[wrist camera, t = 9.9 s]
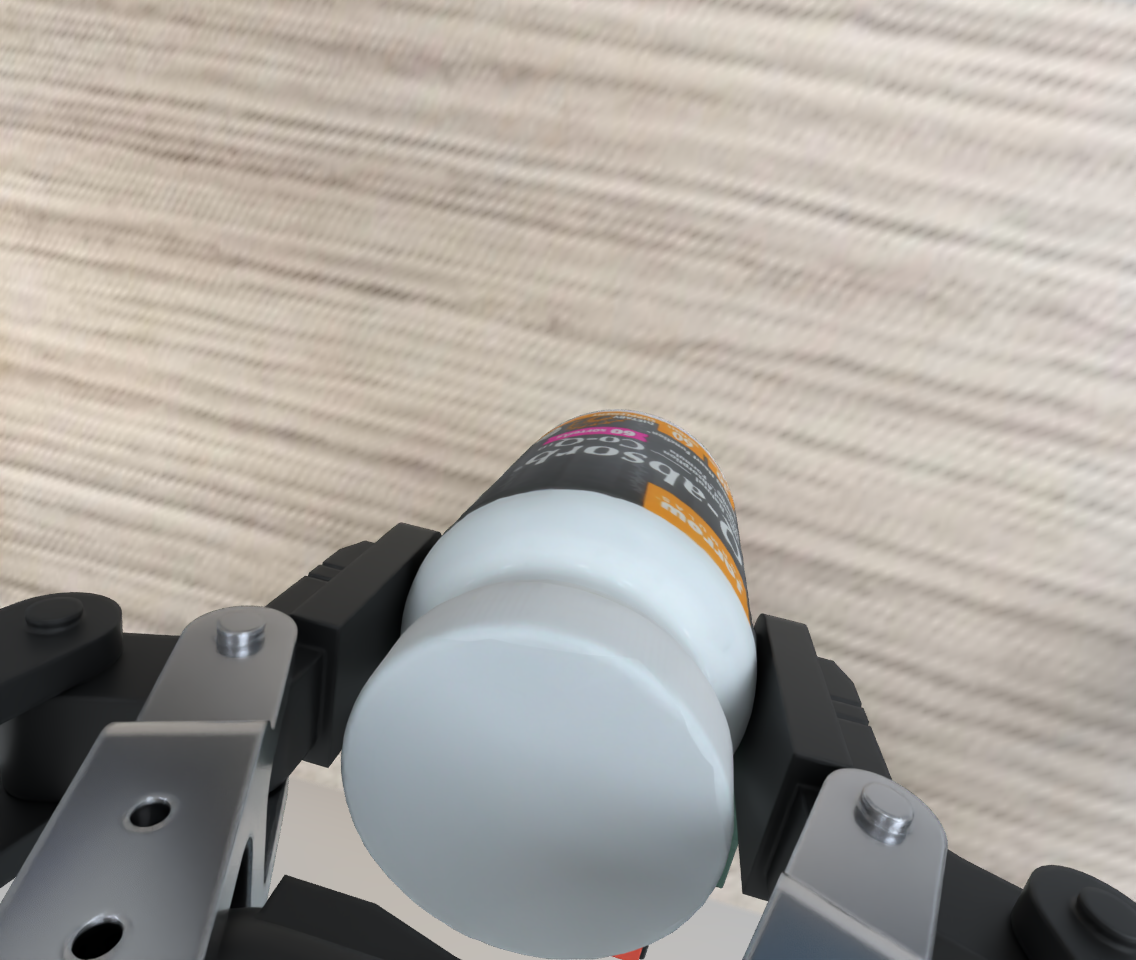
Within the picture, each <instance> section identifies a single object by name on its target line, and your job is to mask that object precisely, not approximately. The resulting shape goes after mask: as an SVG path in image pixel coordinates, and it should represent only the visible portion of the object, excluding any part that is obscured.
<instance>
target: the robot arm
mask: <svg viewBox="0 0 1136 960" xmlns="http://www.w3.org/2000/svg"><path fill="white" fill-rule="evenodd" d="M441 536H442V535H441V533H440V532H438V531H434V530H430V529H426V528H422V527H418V526H414V525H410V524H406V523H398V524H397V525H396V526H395V527H393V528H392V529H391V530H390V531H389V532H387V533H386V534H385V535H384V536H383V537H381V538H380V539H379V540H378V541H377V542H375V543H372V542H369V541H363V542H360V543H357V544H354V545H351V546H348V547H345V548H342V549H339V550H338V551H337V552H335V553H334V554H333V555H331V556H330V557H329V558H328V559H326V560H325V561H324V562H323V564H322V565H318V566H317V567H316V568H315V569H313V570H312V571H311V572H309V574H308V576H304V577H303V578H301V579H300V580H299V581H298V582H296V583H295V584H294V585H292V586H291V587H290V588H288V589H287V590H286V591H285V592H283V593H282V594H281V595H279V596H278V597H277V598H275V599H274V600H273V601H271V602H270V603H269V604H268V605H266V606H265V607H262V606H234V607H228V608H222V609H219V610H215V611H212V612H209V613H206V614H204V615H202V616H200V617H198V618H197V619H195V620H194V621H192V622H191V623H190V624H189V625H187V626H186V628H185V629H184V630H183V632H182V634H181V636H171V635H154V634H137V633H123V629H122V610H121V608H120V606H119V605H118V604H117V603H116V602H115V601H114V600H112V599H110V598H108V597H105V596H102V595H97V594H92V593H81V592H69V593H56V594H48V595H43V596H38V597H34V598H30V599H26V600H23V601H20V602H17V603H15V604H12V605H9V606H7V607H4V608H1V609H0V888H1V887H3V886H4V885H5V884H7V883H8V882H10V881H11V880H12V879H14V878H15V877H16V878H15V879H14V881H13V883H12V885H11V886H10V888H9V890H8V892H7V893H6V895H5V897H4V898H3V900H2V902H1V903H0V960H460V959H459V958H457V957H455V956H454V955H452V954H451V953H449V952H448V951H446V950H444V949H443V948H441V947H440V946H438V945H437V944H435V943H434V942H432V941H431V940H429V939H428V938H426V937H425V936H423V935H422V934H420V933H419V932H417V931H416V930H414V929H413V928H411V927H410V926H408V925H407V924H405V923H404V922H402V921H401V920H399V919H398V918H396V917H395V916H393V915H392V914H390V913H389V912H387V911H386V910H384V909H383V908H381V907H380V906H378V905H377V904H375V903H372V902H368V901H365V900H362V899H359V898H356V897H353V896H350V895H347V894H344V893H341V892H337V891H334V890H331V889H328V888H325V887H322V886H319V885H316V884H313V883H309V882H306V881H303V880H300V879H296V878H294V877H291V876H288V875H284V877H283V878H282V880H281V881H280V883H279V884H278V885H277V887H276V888H275V890H274V891H273V893H272V894H271V896H270V897H269V899H268V900H267V898H268V892H269V887H270V882H271V877H272V872H273V867H274V862H275V857H276V851H277V846H278V841H279V836H280V831H281V826H282V821H283V815H284V810H285V805H286V800H287V795H288V782H289V775H290V774H291V773H292V771H293V770H294V769H295V768H296V767H297V765H298V764H299V763H300V762H301V760H303V761H306V762H310V763H313V764H317V765H320V766H323V767H327V768H329V766H330V765H331V764H332V762H333V761H334V760H335V758H336V757H337V755H338V754H339V753H340V751H341V750H342V746H343V737H344V732H345V728H346V725H347V722H348V719H349V716H350V713H351V711H352V708H353V706H354V703H355V701H356V699H357V697H358V696H359V694H360V692H361V690H362V688H363V687H364V685H365V684H366V682H367V681H368V679H369V678H370V676H371V675H372V674H373V672H374V671H375V670H376V668H377V667H378V666H379V665H380V663H381V662H382V661H383V659H384V658H385V657H386V655H387V654H388V653H389V651H390V650H391V648H392V647H393V646H394V644H395V643H396V642H397V640H398V639H399V638H400V633H401V624H402V616H403V611H404V607H405V603H406V600H407V596H408V593H409V591H410V588H411V585H412V583H413V581H414V578H415V576H416V574H417V572H418V570H419V568H420V566H421V564H422V562H423V561H424V559H425V558H426V556H427V554H428V553H429V551H430V550H431V548H432V547H433V546H434V545H435V544H436V542H437V541H438V540H439V539H440V537H441ZM754 630H755V634H756V649H757V682H756V692H755V698H754V704H753V709H752V714H751V717H750V719H749V722H748V725H747V728H746V731H745V734H744V736H743V738H742V740H741V742H740V744H739V747H738V748H737V750H736V752H735V753H734V755H733V772H734V795H735V807H736V819H737V832H738V844H739V856H740V868H741V881H742V893H743V894H745V895H749V896H752V897H755V898H759V899H762V900H765V901H768V903H767V906H766V908H765V910H764V912H763V915H762V917H761V919H760V921H759V924H758V926H757V929H756V930H755V933H754V935H753V937H752V939H751V942H750V944H749V946H748V948H747V950H746V953H745V955H744V957H743V959H742V960H1136V903H1135V902H1134V901H1132V900H1131V899H1130V898H1128V897H1127V896H1125V895H1124V894H1123V893H1121V892H1119V891H1118V890H1116V889H1115V888H1113V887H1111V886H1110V885H1108V884H1106V883H1104V882H1102V881H1100V880H1099V879H1097V878H1095V877H1092V876H1090V875H1088V874H1086V873H1083V872H1081V871H1078V870H1075V869H1072V868H1068V867H1063V866H1057V865H1046V866H1041V867H1039V868H1036V869H1035V870H1034V871H1033V872H1032V874H1031V876H1030V878H1029V879H1028V881H1027V883H1026V885H1025V887H1024V888H1023V889H1021V888H1019V887H1018V886H1016V885H1014V884H1012V883H1010V882H1008V881H1006V880H1004V879H1002V878H1000V877H998V876H996V875H994V874H992V873H990V872H988V871H986V870H984V869H982V868H980V867H978V866H976V865H974V864H972V863H970V862H968V861H967V860H965V859H963V858H961V857H959V856H958V855H956V854H954V853H953V852H951V851H950V850H948V849H947V848H948V840H947V837H946V833H945V831H944V829H943V826H942V824H941V823H940V821H939V820H938V818H937V817H936V816H935V814H934V813H933V812H932V811H931V810H930V808H929V807H928V806H927V805H925V804H924V803H923V802H922V801H921V800H920V799H919V798H918V797H916V796H915V795H914V794H913V793H911V792H910V791H909V790H907V789H906V788H904V787H903V786H901V785H899V784H898V783H896V782H894V781H892V778H891V776H890V773H889V771H888V768H887V766H886V763H885V761H884V758H883V756H882V753H881V751H880V748H879V746H878V743H877V741H876V738H875V736H874V733H873V731H872V728H871V726H868V723H869V721H868V718H867V716H866V713H865V711H864V708H861V704H862V703H861V701H860V698H859V696H858V693H857V691H856V688H855V686H854V683H853V682H852V681H851V680H850V678H849V677H848V676H847V675H846V674H845V673H844V672H843V671H842V670H841V669H840V668H839V667H838V666H837V665H836V663H835V662H834V661H832V660H828V659H824V658H820V657H817V655H816V652H815V649H814V646H813V643H812V640H811V636H810V633H809V630H808V628H807V626H806V624H802V623H798V622H794V621H790V620H786V619H782V618H778V617H774V616H770V615H766V614H760V615H759V617H758V619H757V621H756V623H755V626H754Z"/></svg>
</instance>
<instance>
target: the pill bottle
mask: <svg viewBox="0 0 1136 960" xmlns="http://www.w3.org/2000/svg"><path fill="white" fill-rule="evenodd" d="M756 682H757V649H756V634H755V630H754V627H753V624H752V617H751V612H750V607H749V598H748V591H747V583H746V577H745V571H744V563H743V556H742V552H741V545H740V538H739V530H738V524H737V518H736V512H735V507H734V502H733V498H732V495H731V492H730V489H729V487H728V484H727V482H726V479H725V477H724V475H723V473H722V472H721V470H720V468H719V466H718V464H717V463H716V462H715V460H714V459H713V457H712V456H711V455H710V453H709V452H708V451H707V450H706V449H705V448H704V446H703V445H702V444H701V443H700V442H699V441H697V440H696V439H695V438H694V437H693V436H691V435H690V434H689V433H687V432H686V431H684V430H683V429H682V428H680V427H679V426H677V425H675V424H673V423H671V422H669V421H667V420H664V419H662V418H660V417H657V416H654V415H650V414H647V413H643V412H638V411H631V410H602V411H596V412H591V413H587V414H584V415H580V416H578V417H575V418H573V419H570V420H568V421H566V422H564V423H562V424H560V425H558V426H557V427H555V428H554V429H552V430H551V431H549V432H548V433H547V434H545V435H544V436H543V437H541V438H540V439H539V440H538V441H537V442H536V443H535V444H533V445H532V446H531V447H530V448H529V449H528V450H527V451H526V452H525V453H524V454H523V455H522V456H521V457H520V458H519V459H518V460H517V461H516V462H515V463H514V464H513V465H512V466H511V467H510V468H509V469H508V470H507V471H506V472H505V473H504V474H503V475H502V476H501V477H500V478H499V479H498V480H497V481H496V482H495V483H494V484H493V485H492V486H491V487H490V488H489V489H488V490H487V491H486V492H484V493H483V494H482V495H481V496H480V497H479V499H478V500H477V501H476V502H475V503H474V504H473V505H472V506H471V507H470V508H469V509H468V510H467V511H466V512H465V513H463V514H462V515H461V517H460V518H459V519H458V520H457V521H456V522H455V523H454V524H453V525H452V526H451V527H450V528H449V529H448V530H446V531H445V532H444V534H443V535H442V536H441V537H440V539H439V540H438V541H437V542H436V544H435V545H434V546H433V547H432V548H431V550H430V551H429V553H428V554H427V556H426V558H425V559H424V561H423V562H422V564H421V566H420V568H419V570H418V572H417V574H416V576H415V578H414V581H413V583H412V585H411V588H410V591H409V593H408V596H407V600H406V603H405V607H404V611H403V616H402V624H401V633H400V638H399V639H398V640H397V642H396V643H395V644H394V646H393V647H392V648H391V650H390V651H389V653H388V654H387V655H386V657H385V658H384V659H383V661H382V662H381V663H380V665H379V666H378V667H377V668H376V670H375V671H374V672H373V674H372V675H371V676H370V678H369V679H368V681H367V682H366V684H365V685H364V687H363V688H362V690H361V692H360V694H359V696H358V697H357V699H356V701H355V703H354V706H353V708H352V711H351V713H350V716H349V719H348V722H347V725H346V728H345V732H344V737H343V746H342V753H341V774H342V781H343V787H344V792H345V797H346V802H347V805H348V808H349V811H350V814H351V817H352V820H353V822H354V825H355V828H356V829H357V832H358V833H359V835H360V837H361V839H362V842H363V844H364V846H365V847H366V849H367V850H368V852H369V853H370V855H371V856H372V858H373V859H374V860H375V861H376V863H377V864H378V865H379V866H380V868H381V869H382V870H383V871H384V872H385V874H386V875H387V876H388V877H389V878H390V879H391V880H392V881H393V882H394V883H395V884H396V885H397V886H398V887H399V888H400V889H401V890H402V891H403V892H404V893H405V894H406V895H407V896H408V897H409V898H410V899H411V900H412V901H413V902H415V903H416V904H417V905H419V906H420V907H421V908H422V909H424V910H425V911H426V912H428V913H429V914H431V915H432V916H434V917H435V918H437V919H438V920H440V921H442V922H444V923H445V924H446V925H448V926H450V927H451V928H453V929H454V930H456V931H458V932H460V933H462V934H464V935H466V936H468V937H470V938H472V939H476V940H479V941H481V942H484V943H486V944H488V945H491V946H494V947H497V948H500V949H504V950H507V951H511V952H515V953H519V954H523V955H528V956H533V957H539V958H546V959H561V960H563V959H565V960H567V959H598V958H604V957H609V956H614V955H618V954H624V953H627V952H630V951H634V950H636V949H639V948H642V947H645V946H647V945H650V944H652V943H654V942H656V941H658V940H659V939H661V938H664V937H665V936H667V935H669V934H671V933H673V932H674V931H675V930H677V929H678V928H679V927H680V926H681V925H682V924H684V923H685V922H686V921H688V920H689V919H690V918H691V917H692V916H693V915H694V913H695V912H696V911H697V910H699V909H700V908H701V906H703V904H704V903H705V901H706V900H707V898H708V897H709V895H710V894H711V893H712V891H713V890H714V888H715V887H716V885H717V883H718V881H719V879H720V877H721V875H722V873H723V870H724V868H725V865H726V862H727V858H728V854H729V851H730V846H731V841H732V836H733V831H734V772H733V755H734V753H735V752H736V750H737V748H738V747H739V744H740V742H741V740H742V738H743V736H744V734H745V731H746V728H747V725H748V722H749V719H750V717H751V714H752V709H753V704H754V698H755V692H756Z"/></svg>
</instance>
